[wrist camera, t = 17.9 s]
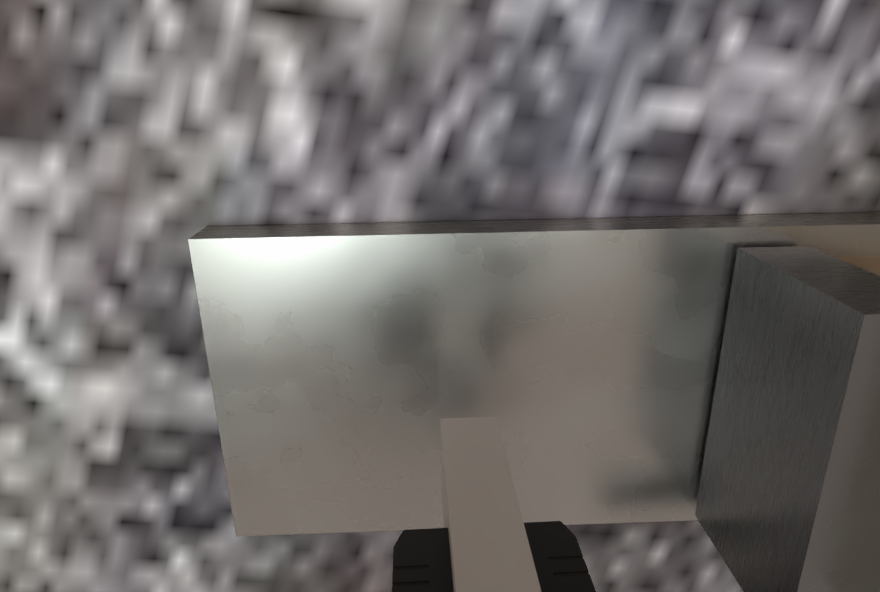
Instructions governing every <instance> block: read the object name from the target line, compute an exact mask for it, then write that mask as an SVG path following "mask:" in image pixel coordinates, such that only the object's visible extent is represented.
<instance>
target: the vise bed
mask: <svg viewBox="0 0 880 592" xmlns="http://www.w3.org/2000/svg"><path fill="white" fill-rule="evenodd" d="M188 242H189V248H190V254H191V260H192V266H193V273H194V279H195V285H196V291H197V297H198V304H199V310H200V316H201V322H202V328H203V334H204V341H205V347H206V353H207V359H208V365H209V372H210V378H211V384H212V390H213V396H214V402H215V409H216V415H217V421H218V427H219V433H220V440H221V446H222V452H223V458H224V464H225V470H226V477H227V483H228V489H229V495H230V501H231V508H232V514H233V520H234V526H235V532H236V536H260V535H289V534H317V533H346V532H375V531H403V530H409V529H431V528H444V524H443V511H442V481H441V432H440V419H443V418H468V417H493V416H496V419H497V423H498V426H499V430H500V434H501V438H502V442H503V446H504V449H505V453H506V457H507V461H508V465H509V469H510V473H511V476H512V480H513V484H514V488H515V492H516V496H517V499H518V503H519V507H520V511H521V515H522V519H523V523H526V522H547V521H561V522H562V523H563V524H564V525H578V524H607V523H636V522H665V521H694V520H698V519H697V517H696V516H695V511H696V504H697V498H698V492H699V486H700V479H701V473H702V467H703V461H704V454H705V448H706V442H707V436H708V429H709V423H710V417H711V411H712V404H713V398H714V392H715V386H716V379H717V373H718V367H719V361H720V354H721V348H722V342H723V336H724V329H725V323H726V317H727V311H728V304H729V298H730V292H731V286H732V279H733V273H734V267H735V261H736V254H737V248H746V247H790V246H810V247H812V248H815V249H817V250H819V251H822V252H824V253H827V254H829V255H831V256H834V257H863V256H880V212H868V213H820V214H773V215H726V216H679V217H632V218H585V219H538V220H491V221H443V222H396V223H349V224H302V225H255V226H208V227H205V228H204V229H202V230H201V231H199V232H198V233H196V234H195V235H194V236H192V237H191V238H189V239H188Z"/></svg>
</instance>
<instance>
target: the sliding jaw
mask: <svg viewBox="0 0 880 592" xmlns="http://www.w3.org/2000/svg"><path fill="white" fill-rule="evenodd" d="M695 516H696V517H697V519H698V520H699V522H700V523H701V525H702V527H703V528H704V530H705V531H706V533H707V534H708V536H709V538H710V539H711V541H712V542H713V544H714V545H715V547H716V549H717V550H718V552H719V553H720V555H721V557H722V558H723V560H724V561H725V563H726V564H727V566H728V568H729V569H730V571H731V572H732V574H733V575H734V577H735V579H736V580H737V582H738V583H739V585H740V586H741V588H742V590H743V591H744V592H879V590H880V276H878V275H876V274H874V273H871V272H869V271H866V270H864V269H862V268H859V267H857V266H855V265H852V264H850V263H848V262H845V261H843V260H841V259H838V258H836V257H834V256H831V255H829V254H827V253H824V252H822V251H819V250H817V249H815V248H812V247H810V246H790V247H746V248H737V254H736V261H735V267H734V273H733V279H732V286H731V292H730V298H729V304H728V311H727V317H726V323H725V329H724V336H723V342H722V348H721V354H720V361H719V367H718V373H717V379H716V386H715V392H714V398H713V404H712V411H711V417H710V423H709V429H708V436H707V442H706V448H705V454H704V461H703V467H702V473H701V479H700V486H699V492H698V498H697V504H696V511H695Z"/></svg>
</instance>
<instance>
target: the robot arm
mask: <svg viewBox="0 0 880 592" xmlns="http://www.w3.org/2000/svg"><path fill="white" fill-rule="evenodd" d="M440 432H441V481H442V511H443V524H444V528H431V529H409V530H403V532H402V534H401V535H400V537H399V539H398V541H397V542H396V544H395V546H394V555H393V587H392V592H596V591H595V588H594V586H593V583H592V580H591V577H590V575H589V574H588V569H587V566H586V564H585V561H584V559H583V556H582V553H581V550H580V547H579V545H578V542H577V539H576V537H575V536H574V535H573V534H572V532H571V531H570V530H569V529H568V528H567V527H566V526H565V525H564V524H563V523H562V522H561V521H547V522H526V523H523V519H522V515H521V511H520V507H519V503H518V499H517V496H516V492H515V488H514V484H513V480H512V476H511V473H510V469H509V465H508V461H507V457H506V453H505V449H504V446H503V442H502V438H501V434H500V430H499V426H498V423H497V419H496V416H493V417H468V418H443V419H440Z"/></svg>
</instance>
